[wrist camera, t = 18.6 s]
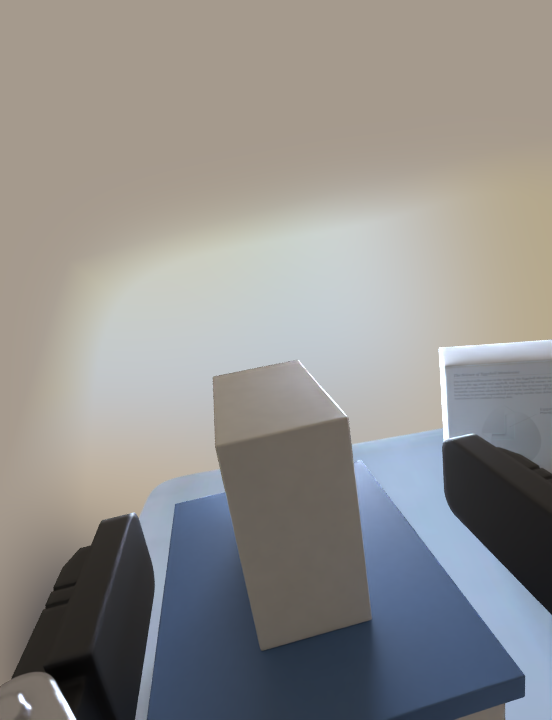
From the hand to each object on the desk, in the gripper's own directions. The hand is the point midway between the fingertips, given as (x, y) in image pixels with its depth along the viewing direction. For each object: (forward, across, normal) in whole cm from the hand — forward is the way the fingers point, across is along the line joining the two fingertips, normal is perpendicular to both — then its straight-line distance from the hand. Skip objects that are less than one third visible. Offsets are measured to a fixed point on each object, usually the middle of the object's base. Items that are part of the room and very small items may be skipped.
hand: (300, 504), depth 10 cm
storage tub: (+7, 0, +16) cm, 17 cm away
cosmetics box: (+20, -22, +16) cm, 34 cm away
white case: (+7, 0, +8) cm, 11 cm away
